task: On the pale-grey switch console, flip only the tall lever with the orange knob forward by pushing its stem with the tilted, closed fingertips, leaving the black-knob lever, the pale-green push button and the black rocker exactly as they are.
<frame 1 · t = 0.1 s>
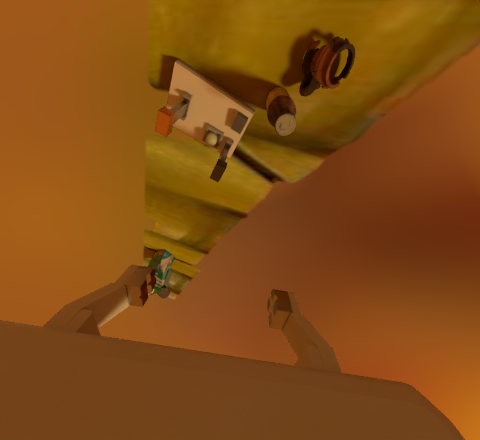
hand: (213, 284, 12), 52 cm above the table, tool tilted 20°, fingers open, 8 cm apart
rocker: (239, 123, 47), point 5 cm above the table, hinge at 10.0°
milk carton: (165, 254, 113), on the table
sauce bottle: (277, 100, 47), on the table
push button: (211, 139, 50), point 7 cm above the table, slide at 0.0 cm
drinking glass: (166, 270, 130), on the table
bluetooth speaker: (164, 281, 147), on the table
lever orange: (175, 113, 41), point 12 cm above the table, hinge at 0.0°
console: (210, 113, 51), on the table
lever black: (222, 159, 48), point 12 cm above the table, hinge at 0.0°
pottery mug: (319, 68, 42), on the table
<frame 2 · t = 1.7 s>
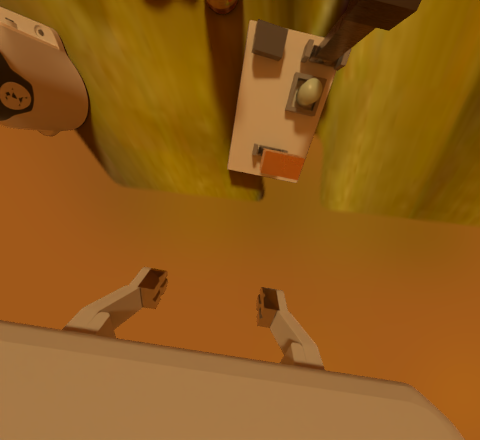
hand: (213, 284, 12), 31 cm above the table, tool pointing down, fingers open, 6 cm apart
rocker: (269, 41, 25), point 5 cm above the table, hinge at 10.0°
push button: (308, 93, 27), point 7 cm above the table, slide at 0.0 cm
lever orange: (273, 156, 26), point 12 cm above the table, hinge at 0.0°
console: (274, 117, 34), on the table
lever black: (347, 33, 20), point 12 cm above the table, hinge at 0.0°
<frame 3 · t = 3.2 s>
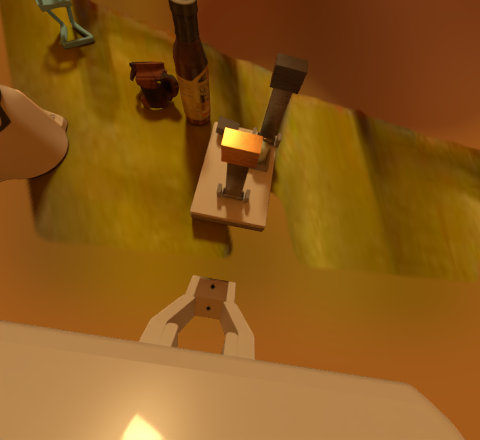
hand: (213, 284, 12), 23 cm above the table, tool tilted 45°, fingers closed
rocker: (227, 128, 37), point 5 cm above the table, hinge at 10.0°
chair: (75, 36, 46), on the table
sauce bottle: (198, 117, 43), on the table
push button: (259, 152, 35), point 6 cm above the table, slide at 0.0 cm
lever orange: (236, 175, 27), point 12 cm above the table, hinge at 0.0°
console: (236, 179, 40), on the table
lever black: (275, 111, 31), point 12 cm above the table, hinge at 0.0°
pottery mug: (160, 96, 44), on the table
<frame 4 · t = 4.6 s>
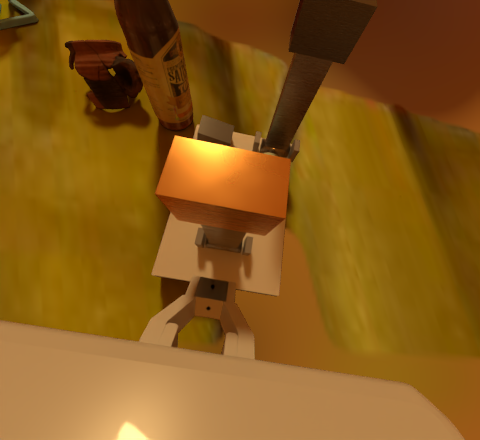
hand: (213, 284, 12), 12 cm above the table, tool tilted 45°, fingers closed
rocker: (215, 133, 24), point 5 cm above the table, hinge at 10.0°
chair: (12, 15, 34), on the table
sauce bottle: (177, 118, 31), on the table
push button: (266, 171, 21), point 6 cm above the table, slide at 0.0 cm
lever orange: (225, 228, 13), point 12 cm above the table, hinge at 0.0°
console: (231, 209, 26), on the table
lever black: (293, 103, 18), point 12 cm above the table, hinge at 0.0°
pottery mug: (122, 93, 31), on the table
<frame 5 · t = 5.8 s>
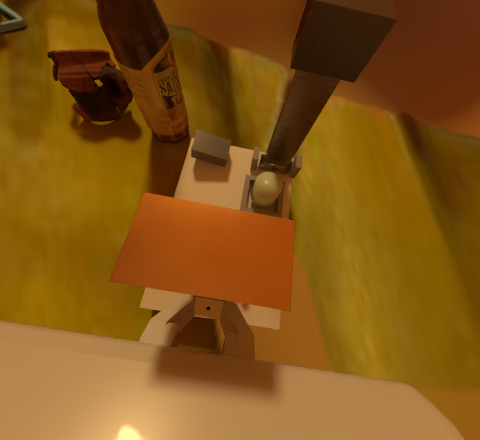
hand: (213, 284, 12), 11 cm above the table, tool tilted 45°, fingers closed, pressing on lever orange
rocker: (211, 148, 22), point 5 cm above the table, hinge at 10.0°
sauce bottle: (171, 129, 29), on the table
push button: (265, 191, 20), point 7 cm above the table, slide at 0.0 cm
lever orange: (218, 266, 12), point 12 cm above the table, hinge at 2.1°, touching gripper
console: (228, 228, 25), on the table
lever black: (295, 120, 16), point 12 cm above the table, hinge at 0.0°
pottery mug: (112, 104, 30), on the table
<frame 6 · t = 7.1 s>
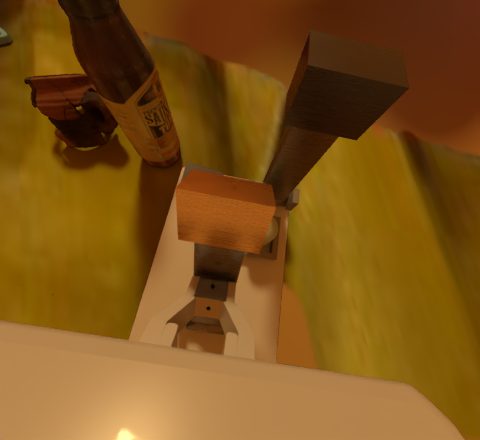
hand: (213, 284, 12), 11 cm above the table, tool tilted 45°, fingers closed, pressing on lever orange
rocker: (202, 181, 20), point 5 cm above the table, hinge at 10.0°
sauce bottle: (163, 152, 28), on the table
push button: (259, 231, 18), point 6 cm above the table, slide at 0.0 cm
lever orange: (215, 280, 13), point 10 cm above the table, hinge at 37.1°, touching gripper
console: (221, 261, 23), on the table
lever black: (291, 163, 15), point 12 cm above the table, hinge at 0.0°
pottery mug: (98, 127, 28), on the table
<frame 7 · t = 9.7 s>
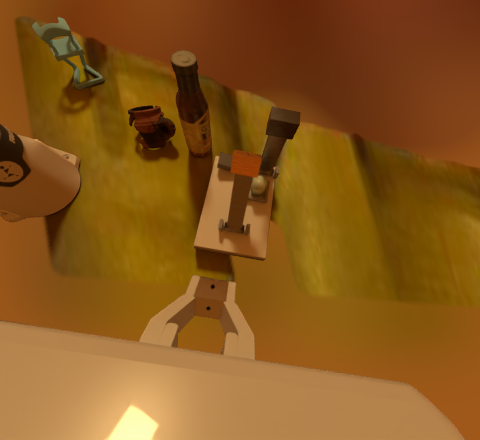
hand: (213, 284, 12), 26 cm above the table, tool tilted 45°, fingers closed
rocker: (228, 162, 39), point 5 cm above the table, hinge at 10.0°
chair: (86, 77, 50), on the table
sauce bottle: (200, 148, 46), on the table
push button: (258, 186, 36), point 7 cm above the table, slide at 0.0 cm
lever orange: (239, 197, 31), point 10 cm above the table, hinge at 38.1°
console: (237, 209, 41), on the table
lever black: (272, 150, 33), point 12 cm above the table, hinge at 0.0°
pottery mug: (158, 136, 46), on the table
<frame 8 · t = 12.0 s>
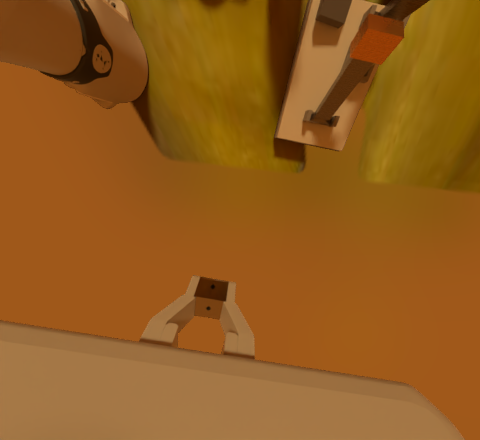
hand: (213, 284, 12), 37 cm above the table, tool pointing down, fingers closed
rocker: (333, 8, 27), point 5 cm above the table, hinge at 10.0°
lever orange: (342, 86, 28), point 10 cm above the table, hinge at 38.1°
console: (322, 87, 36), on the table
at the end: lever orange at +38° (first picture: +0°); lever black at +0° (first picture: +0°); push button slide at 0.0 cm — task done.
